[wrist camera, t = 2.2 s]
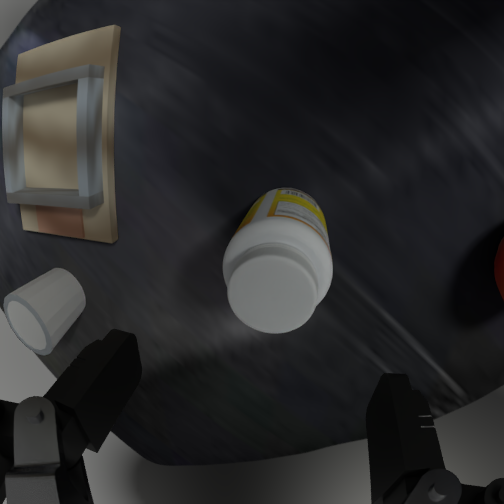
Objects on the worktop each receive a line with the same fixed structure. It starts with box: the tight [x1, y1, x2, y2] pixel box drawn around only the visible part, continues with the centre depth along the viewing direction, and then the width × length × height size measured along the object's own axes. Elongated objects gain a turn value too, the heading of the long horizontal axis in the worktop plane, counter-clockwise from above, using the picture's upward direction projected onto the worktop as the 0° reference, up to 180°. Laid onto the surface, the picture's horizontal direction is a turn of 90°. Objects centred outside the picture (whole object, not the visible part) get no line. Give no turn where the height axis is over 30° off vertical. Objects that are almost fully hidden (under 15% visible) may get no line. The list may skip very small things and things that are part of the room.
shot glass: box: [3, 268, 86, 355], centre depth 27 cm, size 7×7×7 cm
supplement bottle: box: [223, 188, 333, 333], centre depth 18 cm, size 6×6×10 cm
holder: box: [2, 25, 121, 243], centre depth 22 cm, size 18×12×3 cm, turn 176°
